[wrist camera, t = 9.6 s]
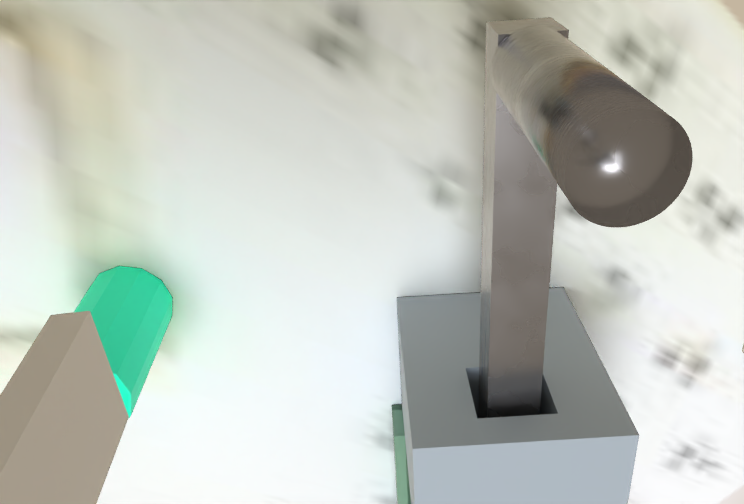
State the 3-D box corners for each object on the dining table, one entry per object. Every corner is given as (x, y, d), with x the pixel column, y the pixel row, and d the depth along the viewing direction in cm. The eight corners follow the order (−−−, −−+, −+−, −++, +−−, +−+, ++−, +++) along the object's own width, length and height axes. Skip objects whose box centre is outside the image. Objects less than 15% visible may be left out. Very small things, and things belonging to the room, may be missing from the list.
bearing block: (396, 297, 50) (412, 448, 37) (563, 287, 50) (639, 435, 36) (401, 404, 55) (417, 572, 41) (553, 395, 54) (617, 560, 41)
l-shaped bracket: (479, 15, 32) (569, 112, 19) (557, 10, 32) (702, 104, 19) (472, 484, 46) (519, 726, 33) (526, 481, 46) (594, 721, 33)
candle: (183, 282, 49) (137, 394, 38) (161, 346, 51) (111, 467, 41) (98, 253, 47) (26, 361, 37) (79, 320, 50) (7, 438, 40)
